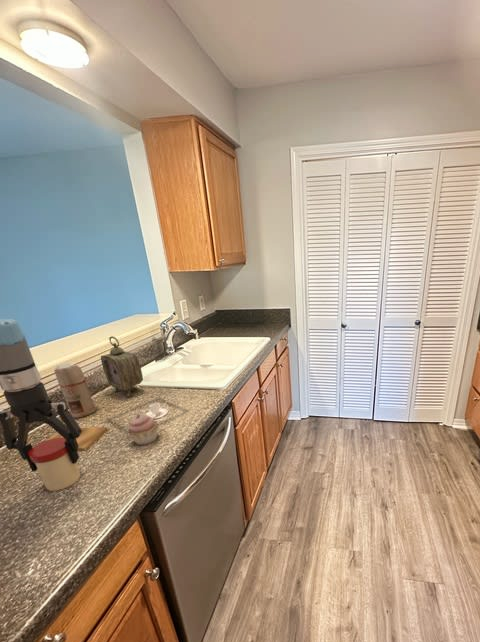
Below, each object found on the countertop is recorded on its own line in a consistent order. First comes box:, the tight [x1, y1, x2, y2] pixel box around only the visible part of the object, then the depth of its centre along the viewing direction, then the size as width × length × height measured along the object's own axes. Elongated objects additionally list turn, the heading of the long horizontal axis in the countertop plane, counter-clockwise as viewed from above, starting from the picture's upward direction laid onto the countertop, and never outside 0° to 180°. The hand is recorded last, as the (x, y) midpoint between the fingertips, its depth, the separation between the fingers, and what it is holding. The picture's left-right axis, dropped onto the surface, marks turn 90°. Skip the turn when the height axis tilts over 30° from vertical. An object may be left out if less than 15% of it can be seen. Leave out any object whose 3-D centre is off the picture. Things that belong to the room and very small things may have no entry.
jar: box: [35, 452, 81, 492], centre depth 85 cm, size 8×8×11 cm
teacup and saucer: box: [145, 402, 169, 420], centre depth 119 cm, size 9×8×4 cm
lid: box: [28, 438, 68, 463], centre depth 83 cm, size 9×9×2 cm
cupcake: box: [126, 412, 159, 446], centre depth 102 cm, size 9×9×10 cm
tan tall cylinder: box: [53, 363, 97, 419], centre depth 120 cm, size 8×8×20 cm
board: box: [45, 427, 108, 451], centre depth 106 cm, size 16×12×1 cm
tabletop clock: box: [100, 335, 144, 398], centre depth 136 cm, size 14×9×25 cm, turn 54°
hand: (56, 464), depth 85 cm, fingers closed on lid, 8 cm apart
